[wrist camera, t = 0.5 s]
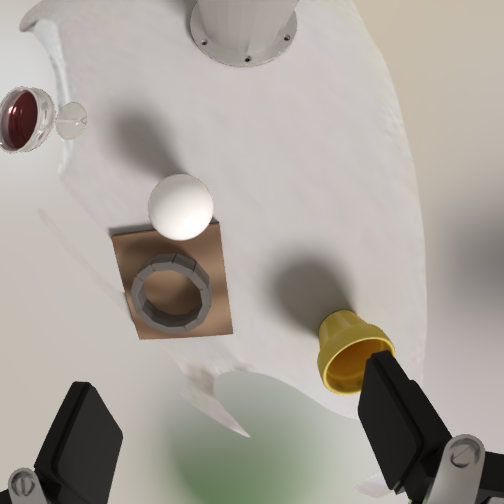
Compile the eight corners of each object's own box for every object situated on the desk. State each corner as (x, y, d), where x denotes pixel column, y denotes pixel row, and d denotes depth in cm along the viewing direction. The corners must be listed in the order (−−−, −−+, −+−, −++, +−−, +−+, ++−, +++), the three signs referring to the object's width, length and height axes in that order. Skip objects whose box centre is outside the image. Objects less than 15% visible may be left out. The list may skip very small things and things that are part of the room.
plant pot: (326, 289, 41) (349, 329, 32) (380, 307, 43) (409, 344, 34) (294, 345, 45) (308, 390, 36) (348, 357, 47) (368, 398, 38)
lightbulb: (158, 208, 36) (131, 235, 25) (175, 159, 34) (152, 168, 24) (206, 225, 37) (197, 260, 27) (225, 178, 35) (222, 194, 25)
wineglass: (86, 149, 32) (33, 157, 21) (46, 143, 31) (-11, 151, 20) (97, 97, 30) (47, 85, 19) (56, 94, 29) (1, 86, 18)
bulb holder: (114, 234, 36) (102, 244, 33) (219, 222, 37) (217, 231, 33) (141, 335, 42) (134, 352, 38) (232, 329, 43) (233, 347, 39)
